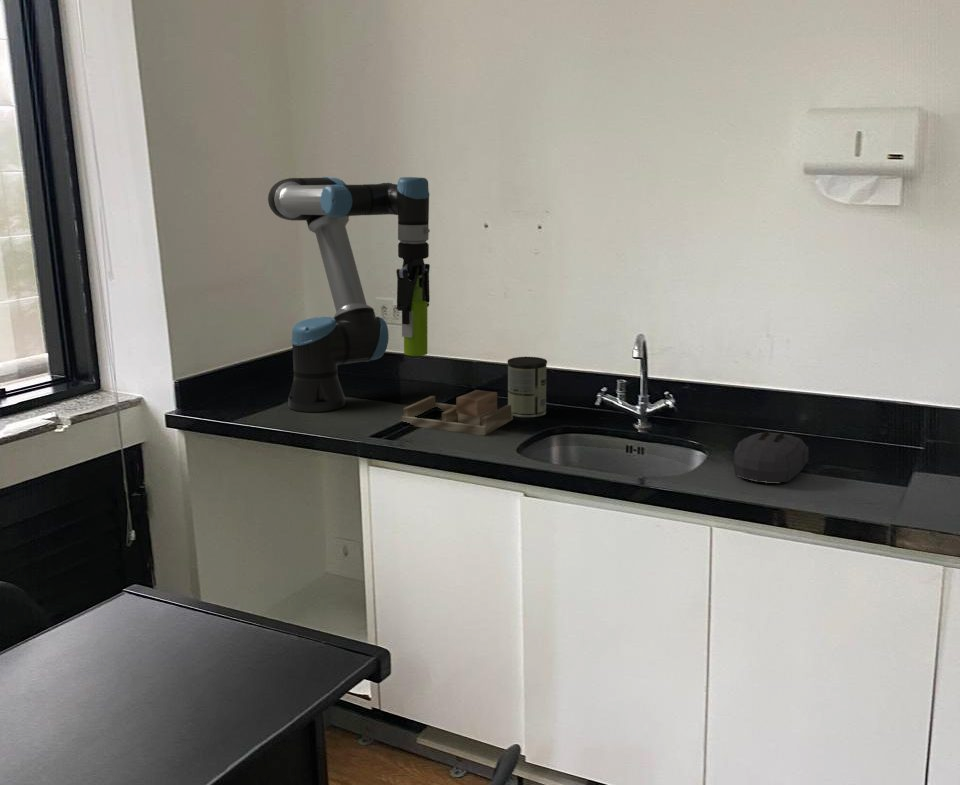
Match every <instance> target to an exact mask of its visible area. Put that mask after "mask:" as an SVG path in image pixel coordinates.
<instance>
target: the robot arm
mask: <svg viewBox="0 0 960 785" xmlns="http://www.w3.org/2000/svg"><path fill="white" fill-rule="evenodd" d="M429 189H430V188H429V181H428V179H427V178H425V177H418V176H417V177H414V176H408V177H407V176H405V177H403V176H402V177H399V178H398V180H397V183H392V182H382V183H370V184H369V183H368V184H367V183H366V184H365V183H364V184H346V183H345V181H344V180H342V179H340V178H338V177H329V176H322V177H289V178H285V179H284V178H283V179H282V180H279V181H277V182H276V183H274V184H273V186H272V187H271V188H270V189H269V192H268V195H267V202H268V206H269V209H270V210H271V211H272V212H273V214H275V216H277V217H279V218H280V219H283V220H287V221H295V222H296V221H306V224H307V228H308V230H309V231H310V232H312V233H313V234H315V236H316V241H317V245H318V248H319V251H320V255H321V258H322V264H323V267H324V271H325V274H326V275H325V276H326V278H327V282H328V286H329V289H330V293H331V296H332V297H331V298H332V300H333V305H334V308H335V314H334V316H333V317H331V316H321V317H311V318H308V319H303V320H301V321H299V322H297V323H296V324H295V325H293V327H292V332H291V333H292V334H291V344H292V347H291V348H292V364H293V365H292V366H293V379H292V380H293V381H292V385H291V388H290V391H289V396H288V398H287V400H288V402H287V403H288V408H289V409H290V410H294V411H296V412H297V411H298V412H306V413H318V412H321V413H322V412H329V411H330V412H331V411H335V410H339V409H341V408H343V407H345V406H346V397H345V394H344V390H343V388H342V385H341V382H340V380H339V376H338V373H339V372H338V366H341V365H347V364H353V363H356V364H357V363H363V362H365V363H367V362H370V361H374V360H378V359H380V358H382V357H383V356H384V354H385V353H386V351H387V349H388V348H387V347H388V344H389V340H390V339H389V338H390V337H389V335H390V334H389V329H388V324H387V322H386V321H385V320H384V319H383V317H380V316H376V312H375V309H374V308H373V307H371V306H370V305H368V303H367V301H366V298H365V294H364V290H363V286H362V283H361V279H360V275H359V272H358V268H357V264H356V261H355V257H354V253H353V250H352V246H351V245H352V244H351V242H350V238H349V234H348V231H347V227H346V225H347V224H348V223H349V221H350V217H358V216H379V215H380V216H384V215H385V216H386V215H394V216H395V215H396V216H397V240H398V241H400V242H399V243H398V244H397V256H398V258H400V259H402V262H403V263H402V267H401V268H397V269H396V278H397V286H396V290H397V291H396V309H397V311H399V312H400V311H401V337H403V338H404V337H411V338H412V337H413V311H411V307H412V299H413V292H414V285H415V284H416V283H417V276H418V275H422V277H421V278H419V286H420V287H421V288H422V300H423V301H426V302H427V308H428V307H429V306H430V269H431V268H430V267H431V266H430V264H429V263H425V260H424V259H428V258H429V256H430V255H429V252H430V250H429V248H430V247H429V246H430V245H429V244H430V243H428V242H427V241H429V235H430V234H429V233H430V228H429V217H430V191H429Z"/></svg>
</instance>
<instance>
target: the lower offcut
mask: <svg viewBox="0 0 960 785" xmlns="http://www.w3.org/2000/svg"><path fill="white" fill-rule="evenodd" d="M496 410H498V407H497V408H496V409H493V410H491V411H489V412H487V413H484V414H482V415H480V416H478V417H477V416H470V415H463V414H458V423H463V424H471V425H479V426H482V418H483V417H485V416H487V415H489V414H491V413H492V412H494V411H496Z"/></svg>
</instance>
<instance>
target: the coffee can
mask: <svg viewBox="0 0 960 785" xmlns="http://www.w3.org/2000/svg"><path fill="white" fill-rule="evenodd" d="M547 364H548V360H547V359H546V358H542V357H539V356H519V357H512V358H508V359H507V405H511V412H513V417H517V418H536V417H542V416H545V415H546V414H547Z"/></svg>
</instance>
